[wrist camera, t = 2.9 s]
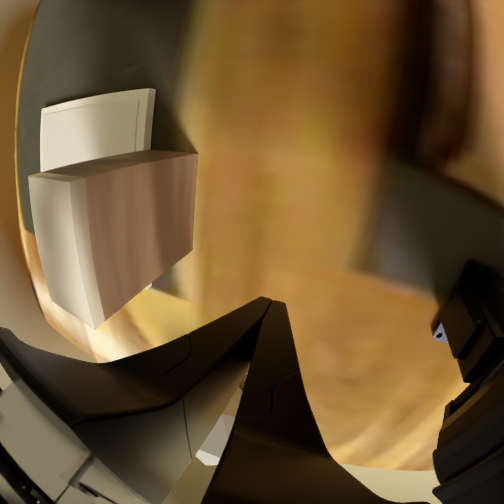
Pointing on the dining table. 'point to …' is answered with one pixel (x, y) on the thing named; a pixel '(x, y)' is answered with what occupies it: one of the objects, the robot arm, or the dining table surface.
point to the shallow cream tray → (96, 128)
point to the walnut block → (112, 227)
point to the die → (219, 433)
